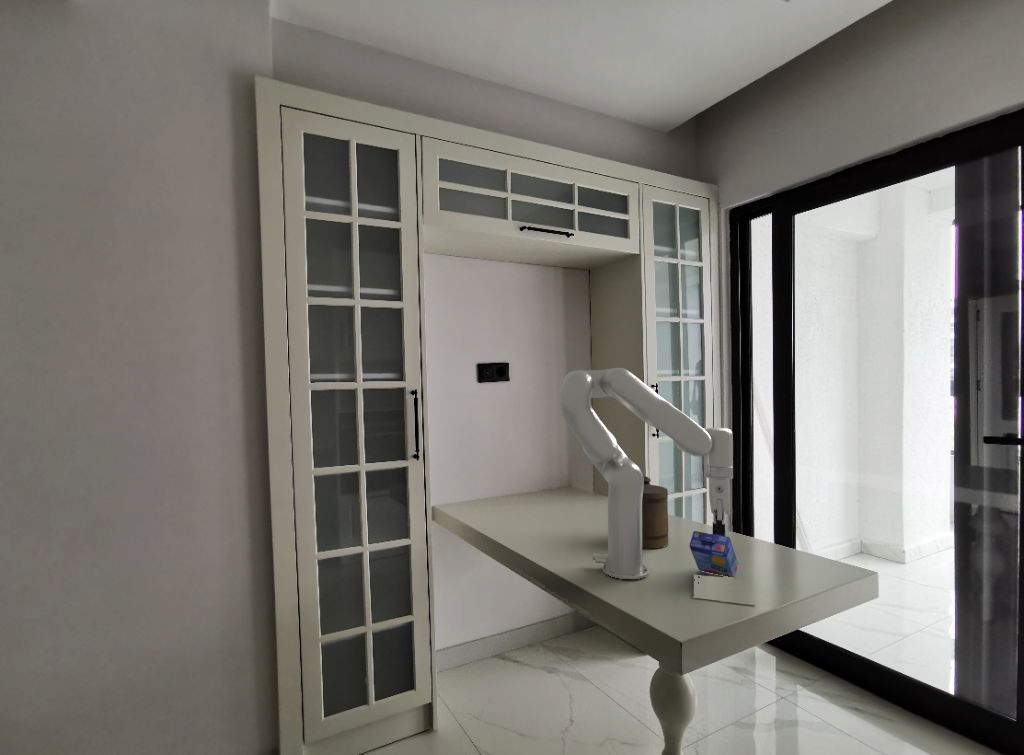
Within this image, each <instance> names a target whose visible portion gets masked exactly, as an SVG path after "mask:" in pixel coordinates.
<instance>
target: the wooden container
mask: <svg viewBox="0 0 1024 755" xmlns="http://www.w3.org/2000/svg"><path fill="white" fill-rule="evenodd" d="M643 479H644V488H643V497H642V548H659V549H661V548H660V547H664V546H666V545H668V546H669V511H668V510H669V509H668V508H669V507H668V505H669V504H668V499H669V498H668V497H669V492H668V488H666V487H664V486H661V485H655V484H651V483H650V482H651V481H652V479H651V478H650V477H649V476H643ZM666 547H667V546H666ZM664 548H665V547H664Z"/></svg>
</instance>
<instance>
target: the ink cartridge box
mask: <svg viewBox="0 0 1024 755" xmlns="http://www.w3.org/2000/svg"><path fill="white" fill-rule="evenodd" d="M692 532H693V533H692V535H691V539H690V542H689V548H690V551H691V554H692V556H693V559H694V562H695V563H696V567H697V570H698V571H699V570H700V571H704V572H709V573H713V574H718V575H723V576H728V577H735V578H736V575H737V571H738V568H739V565H740V564H739V561H738V559H737V555H736V553H735V548H734V545H733V543H732V539H731V537H729V536H726V535H725V536H721V535H713V533H708V532H702V531H697V530H694V531H692ZM700 571H699V572H700ZM704 572H703V573H704ZM713 574H712V575H713Z"/></svg>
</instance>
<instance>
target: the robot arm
mask: <svg viewBox="0 0 1024 755" xmlns="http://www.w3.org/2000/svg"><path fill="white" fill-rule="evenodd" d="M609 397H610V398H614V399H615V400H617V402H619V403H620V404H621V405H622V406H623V407H625V408H627V409H628V410H629V411H630V412H631V413H633V414H634V415H635V416H636V417H637V418H639V420H641V421H643V422H644V423H645V424H647V425H649V426H651V427H652V428H654V429H657V430H658V431H659V432H662V433H663V434H665V435H666V436H667V437H669V438H670V439H671V440H672V441H673V442H674V445H675V447H677V449H678V450H679V451H681V452H683V453H685V454H688V455H690V456H693V457H698V458H699V457H703V466H704V469H703V472H704V473H703V474H704V475H703V476H704V478H707V479H708V495H709V506H710V507H709V508H710V511H711V514H712V515H713V518H712V520H713V521H712V534H713V535H721V536H726V523H725V515H727V516H730V515H731V487H730V480H732V479H734V459H733V458H734V440H733V439H734V438H733V434H734V433H733V431H732V430H731V429H730V428H727V427H708V428H705V427H704V428H703V427H702V426H701V425H699V424H698V423H697V422H695V420H693V419H692V418H690V417H689V416H688V415H687V414H685V413H684V412H683V411H682V410H679V408H677V407H675V405H673V404H672V403H670V402H669V401H667V400H666V399H665V398H663V397H662V396H660V395H659V393H657V392H656V391H655V390H653V389H652V388H651V387H649V386H648V385H647V384H646V383H645V382H643V381H642V379H640V378H639V377H637V376H636V375H635V374H633V373H632V372H631V371H630V370H628V369H626V368H623V367H613V368H606V369H594V370H582V369H581V370H580V369H577V370H573V371H570V372H568V373H567V374H566V375H565V376H564V378H563V381H562V388H561V391H560V394H559V409H560V413H561V416H562V417H563V420H564V421H565V423H566V424H567V426H568V428H569V429H570V430H571V432H572V433H573V435H574V437H575V438H576V439H577V440H578V442H579V443H580V445H581V447H582V450H583V451H584V453H585V455H586V456H587V458H589V460H590V461H591V463H592V464H593V465H594V467H595V468H596V469H597V471H599V472H598V473H600V474H601V476H602V477H603V478H604V480H605V481H606V482H607V484H608V491H607V492H608V494H607V552H606V553H604V554H600V553H593V554H592V561H595V563H596V564H602V570H601V571H602V573H603V574H604V575H606V574H607V575H606V576H608V575H609V576H608V577H610V576H611V577H610V578H612V577H615V578H614V579H616V578H619V579H618V580H622V579H638V580H641V579H640V578H642V579H644V578H643V577H645V576H646V577H648V575H649V569H648V567H647V566H645V565H644V564H643V549H642V497H643V488H644V479H643V477H644V475H643V472H642V470H641V468H640V467H639V466H638V464H636V463H635V462H634V461H632V460H631V459H630V458H629V457H628V455H627V454H626V453H625V452H624V450H623V449H622V448H621V446H620V445H619V444H618V441H617V439H616V437H615V436H614V434H613V433H612V432H611V431H610V430H609V429H608V428H607V427H606V425H605V423H603V421H602V420H601V419H600V417H599V416H598V414H597V412H595V410H594V409H593V407H592V404H591V399H597V398H598V399H599V398H609ZM646 577H645V578H646Z"/></svg>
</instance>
